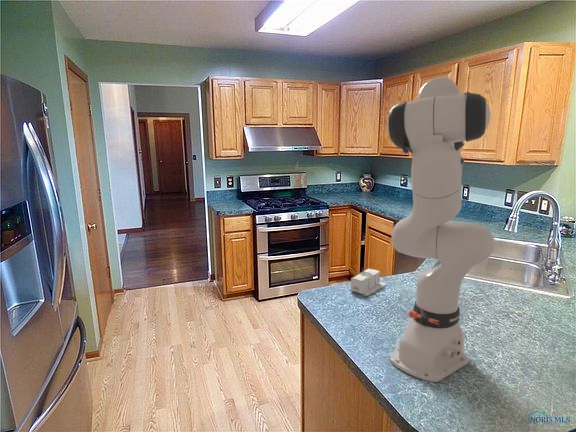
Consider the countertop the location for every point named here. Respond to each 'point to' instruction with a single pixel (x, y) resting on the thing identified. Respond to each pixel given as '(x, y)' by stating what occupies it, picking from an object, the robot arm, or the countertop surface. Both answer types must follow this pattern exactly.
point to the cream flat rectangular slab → (374, 288)
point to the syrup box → (365, 281)
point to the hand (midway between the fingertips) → (444, 198)
